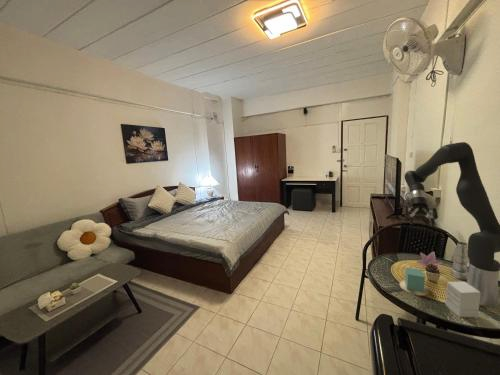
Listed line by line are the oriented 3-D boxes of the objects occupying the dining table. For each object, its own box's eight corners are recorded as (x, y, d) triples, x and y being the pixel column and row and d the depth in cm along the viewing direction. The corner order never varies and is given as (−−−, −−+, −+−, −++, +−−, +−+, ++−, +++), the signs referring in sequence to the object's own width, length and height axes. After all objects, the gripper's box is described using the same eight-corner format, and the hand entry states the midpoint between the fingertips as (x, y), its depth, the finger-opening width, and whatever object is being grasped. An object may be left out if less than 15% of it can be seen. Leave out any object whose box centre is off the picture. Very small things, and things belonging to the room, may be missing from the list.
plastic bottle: (449, 278, 112) (453, 244, 108) (450, 273, 117) (454, 239, 113) (467, 283, 107) (471, 247, 104) (467, 277, 112) (471, 242, 108)
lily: (411, 270, 124) (418, 261, 118) (413, 255, 131) (420, 246, 124) (436, 281, 118) (445, 273, 112) (437, 265, 125) (446, 256, 119)
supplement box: (462, 306, 94) (465, 281, 92) (478, 319, 87) (481, 292, 84) (444, 306, 95) (446, 281, 92) (458, 319, 87) (461, 292, 85)
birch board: (428, 286, 108) (428, 284, 107) (429, 300, 98) (430, 298, 98) (399, 279, 115) (400, 277, 115) (398, 291, 106) (398, 289, 105)
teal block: (404, 281, 111) (405, 267, 109) (420, 284, 108) (421, 269, 106) (407, 289, 105) (407, 274, 104) (423, 292, 102) (424, 277, 101)
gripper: (404, 195, 123) (407, 220, 115) (435, 196, 116) (441, 223, 108) (402, 202, 128) (404, 226, 121) (432, 203, 122) (436, 229, 114)
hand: (422, 224), depth 114 cm, fingers open, 8 cm apart
